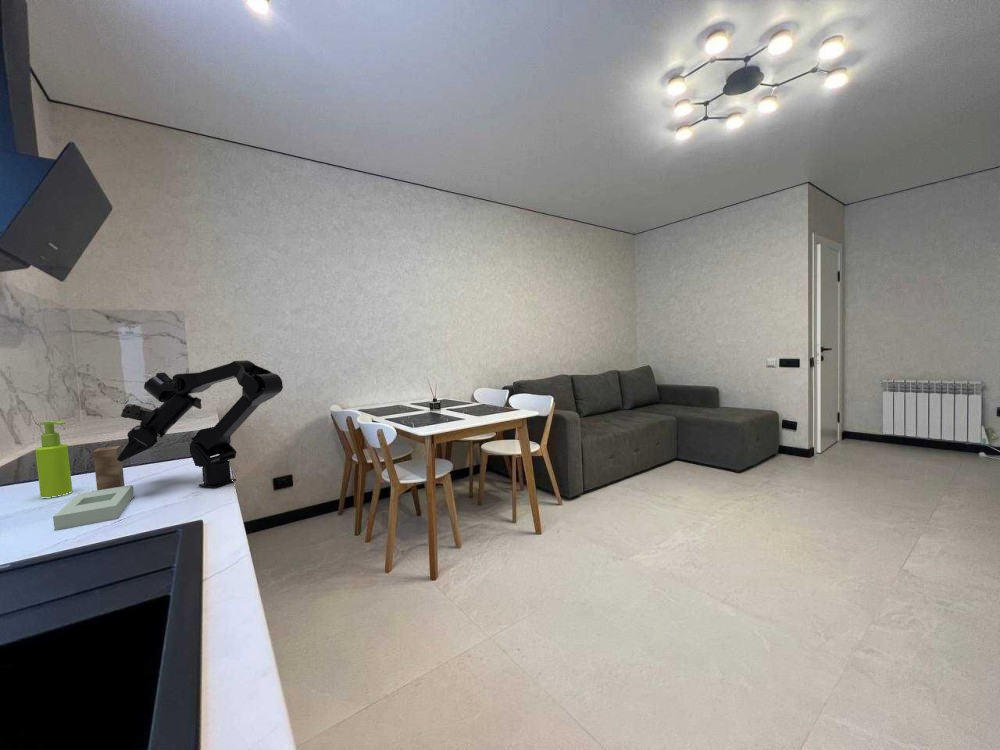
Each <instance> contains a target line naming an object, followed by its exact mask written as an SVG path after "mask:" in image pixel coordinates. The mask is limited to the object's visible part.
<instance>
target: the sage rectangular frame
mask: <svg viewBox="0 0 1000 750" xmlns="http://www.w3.org/2000/svg"><path fill="white" fill-rule="evenodd" d="M133 485H134V484H130V485H125V486H122V487H116V488H110V489H103V490H97V489H96V490H93V491H92V490H91V491H86V492H81V493H78V494H77V495H76V496H75V497H74V498H72V499H71V500H70V501H69V502H68V503H67V504H66V505H65V506H63V507H62V508H61V509H59V511H58V512H57V513H55V514H54V515H53V516H52V519H53V520H52V521H53V528H54V531H58V530H64V529H68V528H69V529H70V528H74V527H79V526H80V527H81V526H86V525H90V524H91V525H92V524H96V523H101V522H105V521H112V520H116V519H119V518H120V515H122V513H123V512H124V510H125V509H126V508H127V507H128V505H129V503H130V502H131V501H130V500H132V499H133V498H132V497H134V496H133V495H134V486H133ZM131 498H132V499H131ZM129 501H130V502H129ZM127 504H128V505H127ZM124 508H125V509H124ZM122 511H123V512H122Z"/></svg>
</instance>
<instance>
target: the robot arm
mask: <svg viewBox="0 0 1000 750" xmlns="http://www.w3.org/2000/svg"><path fill="white" fill-rule="evenodd" d="M232 379H236V381H237V383H238V385H239V386H241V387H242V389H241V391H242V392H241V396H240V398H239V399H237V400H236V402H235V403H234V404H233V405H232V407H230V409H229V410H228V411H227V412H226V413H225V414H224V415H223V416H222V418H221V419H220V420H219V421H218V422H216V424H215V425H214V426H210V427H205V428H202V429H199V430H198V431H197V433H196V434H195V435H194V436H193V437H191V438H190V439H191V442H190V443H189V453H190V455H191V459H192V461H193V463H194V466H196V467H198V468H202V469H201V471H202V473H201V474H202V481H203V483H199V484H198V487H201V488H212V489H215V488H219V487H222V486H225V485H228V484H231V483H234V482H236V481H237V479H236V478H232V477H231V476H232V475H231V464H230V460H233V459H236V456H237V450H236V449H235V448H234V447H233V446H232V445H231V442H232V441H231V440H232V439H231V437H232V435H233V434H234V433H235V432H237V430H238V429H239V428H240V427H241V426H242V424H244V423H245V421H246V420H247V419H249V417H250V416H251V415H252V414H253V412H254V411H255V410H256V409H257V408H259V406H260V405H262V404H263V403H266V402H267V401H269V400H272V399H273V398H275V396H277V395H279V394H280V393H281V392H282V391H283V388H284V385H283V380H282V377H281V376H280V375H279V374H277V373H274V372H272V371H270V370H268V369H266V368H264V367H261V366H259V365H256V364H255V363H254V362H252V361H251V360H245V359H244V360H233V361H232V362H229V363H227V364H223V365H220V366H217V367H212V368H210V369H206V370H203V371H199V372H188V373H187V372H185V373H176V374H174V375H173V376H172V378H171V377H170V376H169V375H168V374H167V373H166V372H157V373H156V375H154V376H153V377H151V378H149V379H148V380H147V381H145V383H144V384H143V388H144V390H145V391H146V392H147V393H148V394H150V395H151V396H152V397H153V398H154V399H156V400H157V401H158V402H160V403H162V404H160V405H159V406H158V407H156V408H154V409H151V408H148V407H145V406H144V407H143V406H141V405H137V404H135V403H134V404H131V403H128V404H125V406H124V408H123V409H122V412H121V414H120V417H121V418H125V419H131V420H134V421H135V420H136V421H139V425H135V426H134V427H132V428H131V429H130V430H129V431H128V432H127V436H126V437H127V438H128V439H127V440H128V443H127V444H126V445H125V447H124V448H123V449H122V450H121V454H120V455H119V457H118V458H117V460H118V461H120V462H121V461H122V462H124V461H126V460H128V459H129V458H133V457H134V456H136V455H138V454H140V453H142V452H145V451H147V450H149V449H151V448H152V447H153V446H154V445H156V444H157V443H158V442H159V441H160V440H161V438H163V437H164V436H165V435H166V434H167V433H168V430H170V429H171V428H172V427H173V426H174V425H175V424H176V423H177V422H178V421H179V420H181V419H182V417H183V416H184V415H185V414H186V413H188V412H189V411H190V410H191V408H193V407H195V408H196V409H199V410H200V409H202V399H201V398H199V397H198V396H196V397H194V396H192V394H198V393H203V392H205V391H207V390H208V389H210V388H211V386H212V385H213V386H214V385H215V384H217V383H221V382H224V381H228V380H232ZM232 480H233V482H232Z"/></svg>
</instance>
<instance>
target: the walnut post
mask: <svg viewBox="0 0 1000 750" xmlns="http://www.w3.org/2000/svg"><path fill="white" fill-rule="evenodd" d="M121 452H122V448H121V445H116V446H114V445H113V446H107V447H98V448H96V449H95V450H93V451H92V454H93V463H94V471H95V472H94V473H95V474H94V475H95V481H96V482H95V483H96V491H97V490H103V489H110V488H116V487H122V486H126V485H125V478H124V466H123V465H124V464H123V461H121V462H120V461H118V460H117V458H118V457H119V455H120V454H121Z"/></svg>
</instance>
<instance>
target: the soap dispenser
mask: <svg viewBox="0 0 1000 750" xmlns="http://www.w3.org/2000/svg"><path fill="white" fill-rule="evenodd" d="M67 423H68V422H67V421H64V420H49V421H44V422H40V423H39V425H40V426H43V425H44V432H45V433H43V434H41V435H40V440H41V446H40V447H37V448H35V458H36V459H35V460H36V469H37V478H38V484H39V495H40V498H41V497H52V496H58V495H63V494H66V493H69V492H71V491H72V492H73V485H72V475H71V467H70V465H71V464H70V458H69V457H70V456H69V450H68V449H69V448H68V444H66V443H64V444H62V443H61V435H60V432H56V431H55V425H57V426H59V425H65V424H67Z"/></svg>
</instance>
